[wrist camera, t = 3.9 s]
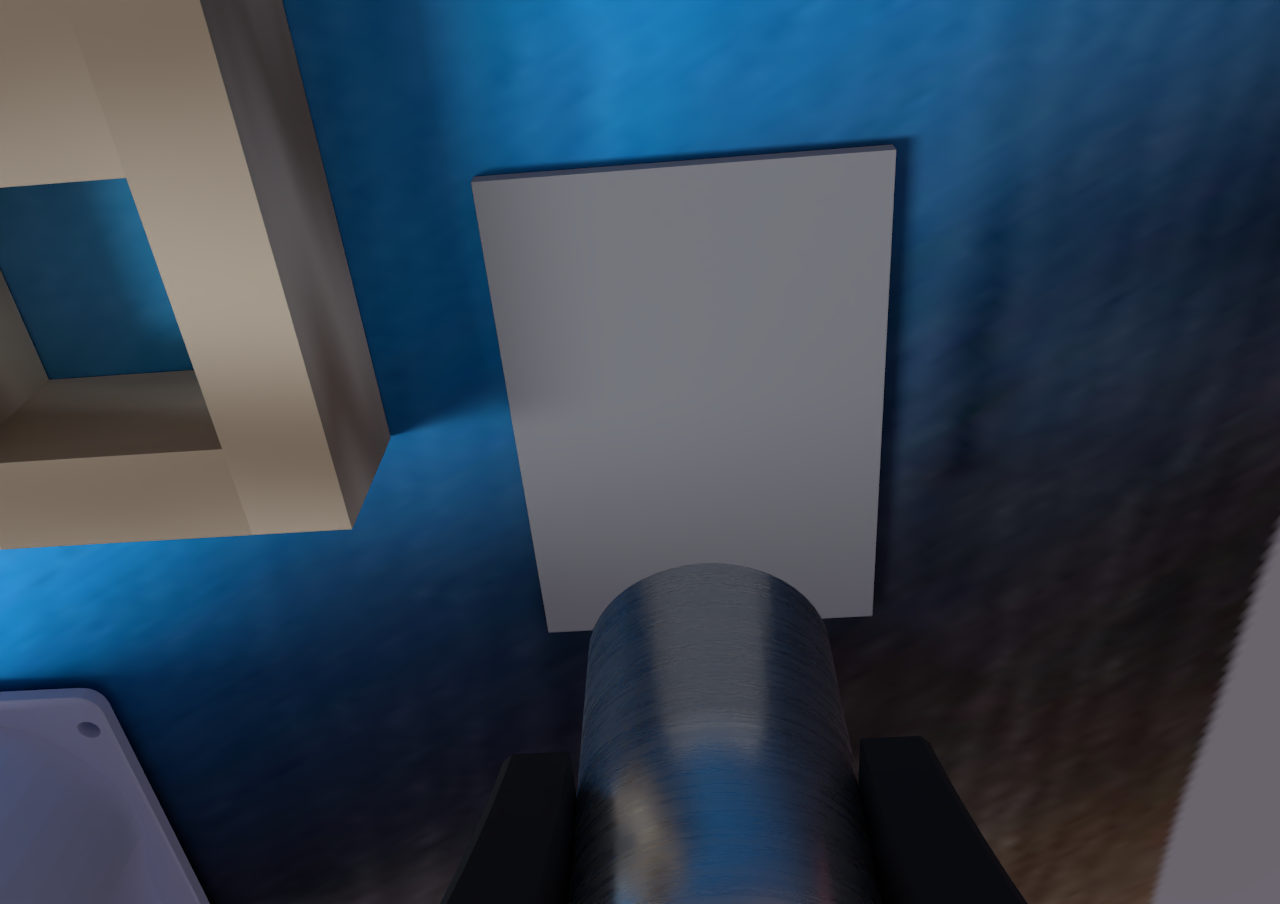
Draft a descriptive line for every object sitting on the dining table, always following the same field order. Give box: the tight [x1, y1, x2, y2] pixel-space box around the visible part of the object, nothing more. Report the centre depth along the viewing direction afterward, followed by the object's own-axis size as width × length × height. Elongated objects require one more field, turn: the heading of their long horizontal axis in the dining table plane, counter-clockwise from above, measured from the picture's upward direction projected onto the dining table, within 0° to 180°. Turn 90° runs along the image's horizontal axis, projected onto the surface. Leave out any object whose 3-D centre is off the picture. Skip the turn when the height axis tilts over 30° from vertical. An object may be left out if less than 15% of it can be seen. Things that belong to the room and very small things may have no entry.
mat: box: [471, 144, 896, 632], centre depth 20 cm, size 10×7×1 cm
